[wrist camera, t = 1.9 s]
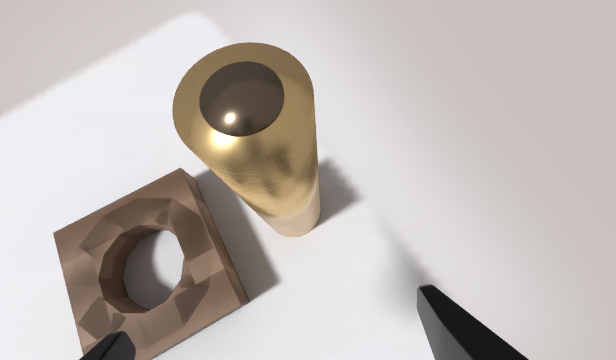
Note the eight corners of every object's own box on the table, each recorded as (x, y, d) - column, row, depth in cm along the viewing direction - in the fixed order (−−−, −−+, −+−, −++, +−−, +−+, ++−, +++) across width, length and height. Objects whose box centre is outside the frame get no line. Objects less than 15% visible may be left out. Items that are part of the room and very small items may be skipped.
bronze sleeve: (330, 219, 23) (341, 117, 8) (281, 247, 22) (202, 191, 8) (303, 173, 24) (273, 19, 10) (256, 199, 24) (150, 76, 9)
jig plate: (249, 301, 21) (240, 305, 19) (119, 378, 20) (92, 391, 18) (194, 178, 24) (180, 167, 22) (80, 237, 23) (53, 233, 21)
